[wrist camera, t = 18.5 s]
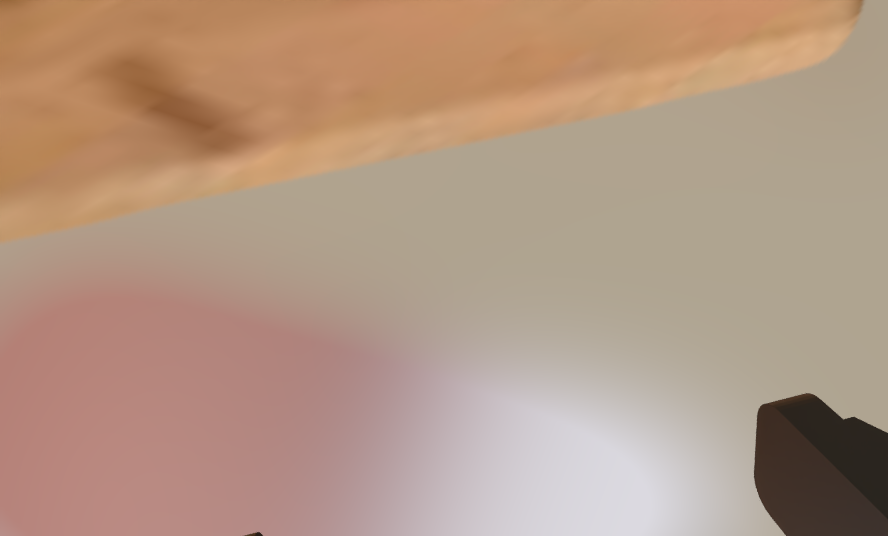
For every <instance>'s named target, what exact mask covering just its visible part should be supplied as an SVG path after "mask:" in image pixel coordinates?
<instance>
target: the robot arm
mask: <svg viewBox="0 0 888 536" xmlns="http://www.w3.org/2000/svg"><path fill="white" fill-rule="evenodd" d="M754 479H755V485H756V488H757V492H758V494H759V497H760V499H761V501H762V503H763V505H764V507H765V509H766V510H767V512H768V513H769V515H770V516H771V517H772V519H773V520H774V521H775V522H776V523H777V525H778V526H779V527H780V529H781V530H782V531H783V532H784V534H785V535H786V536H888V433H887V432H884V431H882V430H880V429H878V428H876V427H874V426H872V425H870V424H867V423H866V422H864V421H862V420H859V419H857V418H855V417H851V418H847V419H844V420H843V419H842V418H841V417H840V416H839V415H837V414H836V413H835V412H834V411H833V410H832V409H831V408H830V407H828V406H827V405H826V404H825V403H824V402H823V401H822V400H820V399H819V398H818V397H817V396H815V395H813V394H809V393H806V394H802V395H798V396H794V397H790V398H786V399H782V400H778V401H775V402H771V403H767V404H763V405H762V406H760V408H759V410H758V415H757V429H756V448H755V466H754ZM245 536H263V535H262V534H261V533H260V532H257V533H253V534H249V535H245Z"/></svg>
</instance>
